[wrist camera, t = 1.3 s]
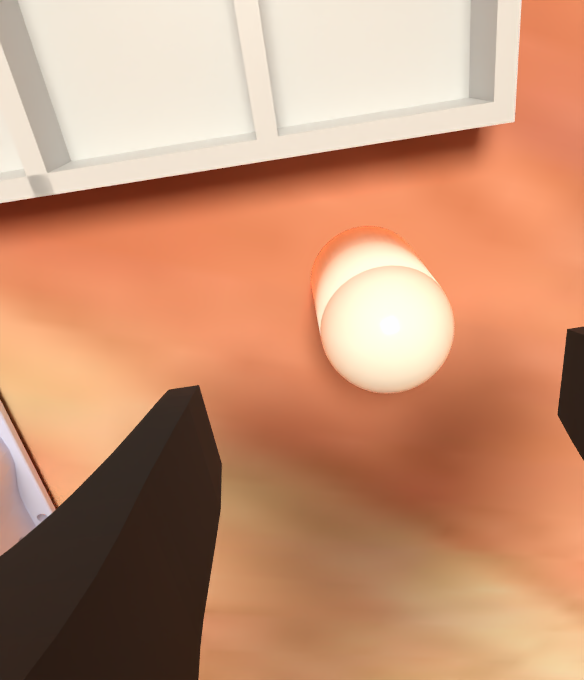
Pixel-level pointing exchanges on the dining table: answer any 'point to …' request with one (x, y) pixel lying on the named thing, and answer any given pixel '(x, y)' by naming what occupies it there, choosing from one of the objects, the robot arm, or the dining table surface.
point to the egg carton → (237, 82)
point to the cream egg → (380, 311)
